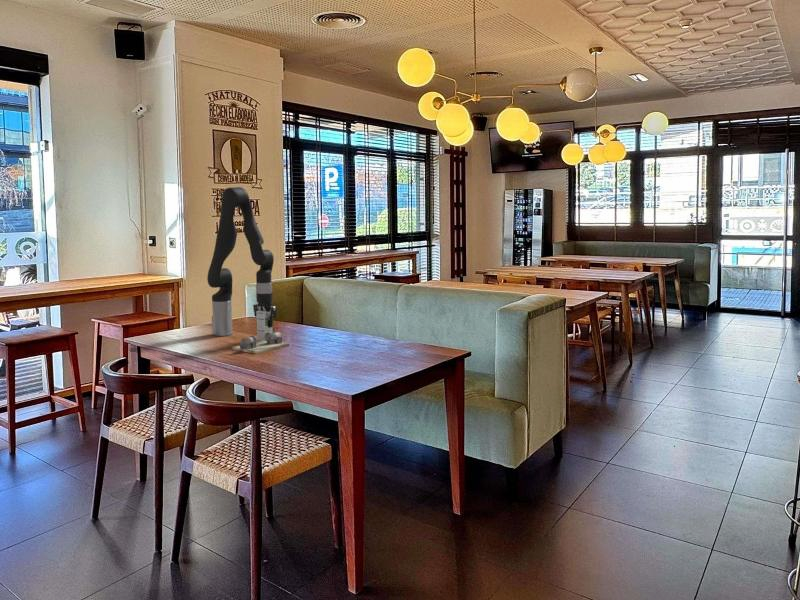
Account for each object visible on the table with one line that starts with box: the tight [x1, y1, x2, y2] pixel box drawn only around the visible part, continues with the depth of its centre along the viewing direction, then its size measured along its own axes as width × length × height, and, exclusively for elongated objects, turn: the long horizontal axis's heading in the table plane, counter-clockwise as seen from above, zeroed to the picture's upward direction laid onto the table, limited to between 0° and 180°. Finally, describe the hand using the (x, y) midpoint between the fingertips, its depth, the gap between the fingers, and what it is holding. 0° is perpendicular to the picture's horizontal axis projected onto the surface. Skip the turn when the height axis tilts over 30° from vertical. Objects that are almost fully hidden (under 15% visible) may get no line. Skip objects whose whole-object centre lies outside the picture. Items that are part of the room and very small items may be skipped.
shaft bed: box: [231, 331, 290, 355], centre depth 284 cm, size 16×21×6 cm
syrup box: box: [256, 311, 275, 341], centre depth 300 cm, size 6×6×14 cm
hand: (265, 326), depth 300 cm, fingers closed on syrup box, 6 cm apart
